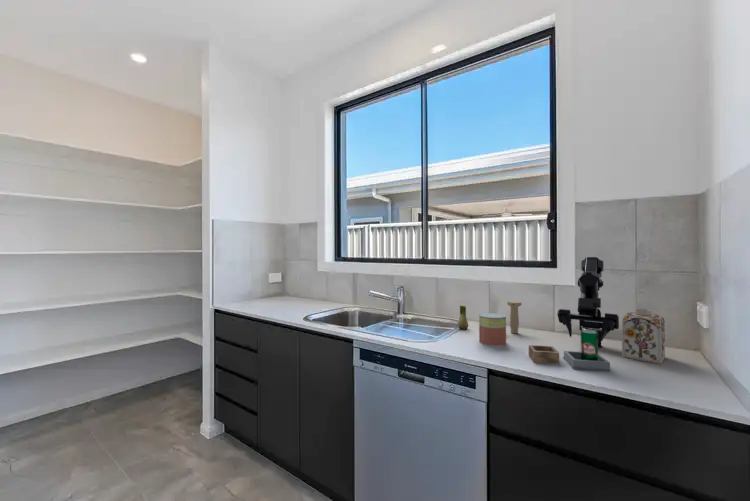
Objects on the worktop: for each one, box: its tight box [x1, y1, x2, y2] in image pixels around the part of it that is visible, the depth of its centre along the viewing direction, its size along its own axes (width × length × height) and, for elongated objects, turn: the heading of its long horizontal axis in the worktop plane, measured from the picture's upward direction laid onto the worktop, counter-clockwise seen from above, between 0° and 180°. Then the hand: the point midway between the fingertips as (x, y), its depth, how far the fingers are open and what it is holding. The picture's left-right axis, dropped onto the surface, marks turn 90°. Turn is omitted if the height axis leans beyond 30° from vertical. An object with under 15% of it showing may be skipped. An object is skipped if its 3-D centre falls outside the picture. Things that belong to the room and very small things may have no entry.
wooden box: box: [528, 344, 560, 365], centre depth 126 cm, size 8×8×4 cm
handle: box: [506, 300, 522, 334], centre depth 166 cm, size 5×6×15 cm
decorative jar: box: [621, 308, 666, 365], centre depth 128 cm, size 12×12×18 cm
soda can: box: [580, 328, 599, 361], centre depth 120 cm, size 5×5×12 cm
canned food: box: [478, 312, 507, 347], centre depth 149 cm, size 11×11×12 cm
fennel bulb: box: [458, 304, 469, 330], centre depth 176 cm, size 6×5×12 cm
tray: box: [563, 350, 611, 372], centre depth 120 cm, size 11×11×3 cm
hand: (585, 338), depth 120 cm, fingers open, 9 cm apart
